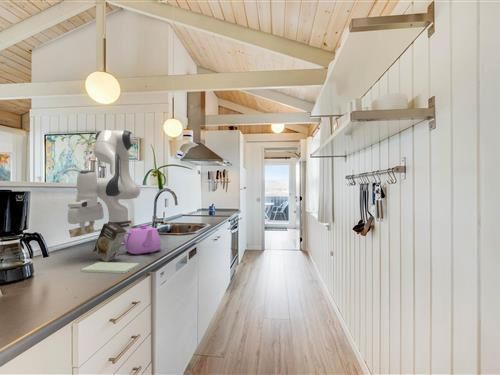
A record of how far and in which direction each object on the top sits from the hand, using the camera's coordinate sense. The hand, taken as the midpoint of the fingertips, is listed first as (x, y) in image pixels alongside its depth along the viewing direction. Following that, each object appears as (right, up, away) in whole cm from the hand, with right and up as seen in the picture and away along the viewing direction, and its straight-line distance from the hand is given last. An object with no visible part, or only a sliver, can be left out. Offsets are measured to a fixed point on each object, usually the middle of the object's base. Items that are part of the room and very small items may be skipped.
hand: (87, 230), depth 129 cm
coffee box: (+9, -13, -1) cm, 15 cm away
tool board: (+20, -14, -15) cm, 29 cm away
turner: (+1, -1, 0) cm, 2 cm away
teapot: (+22, -15, +15) cm, 30 cm away
